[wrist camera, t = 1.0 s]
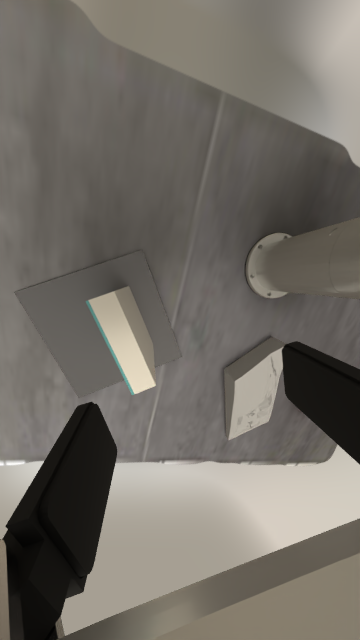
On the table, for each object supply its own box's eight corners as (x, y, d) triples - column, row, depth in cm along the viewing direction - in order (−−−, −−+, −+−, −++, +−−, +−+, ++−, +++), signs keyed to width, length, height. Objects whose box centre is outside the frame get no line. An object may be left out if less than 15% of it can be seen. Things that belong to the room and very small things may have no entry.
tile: (128, 285, 31) (114, 291, 18) (153, 343, 34) (155, 385, 21) (112, 291, 31) (85, 301, 17) (138, 349, 34) (132, 395, 21)
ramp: (253, 438, 46) (266, 458, 41) (199, 432, 43) (205, 453, 38) (295, 342, 42) (316, 351, 36) (238, 326, 38) (252, 334, 33)
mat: (142, 250, 31) (142, 249, 30) (181, 355, 37) (182, 356, 36) (16, 292, 29) (14, 292, 28) (79, 396, 35) (78, 398, 34)
